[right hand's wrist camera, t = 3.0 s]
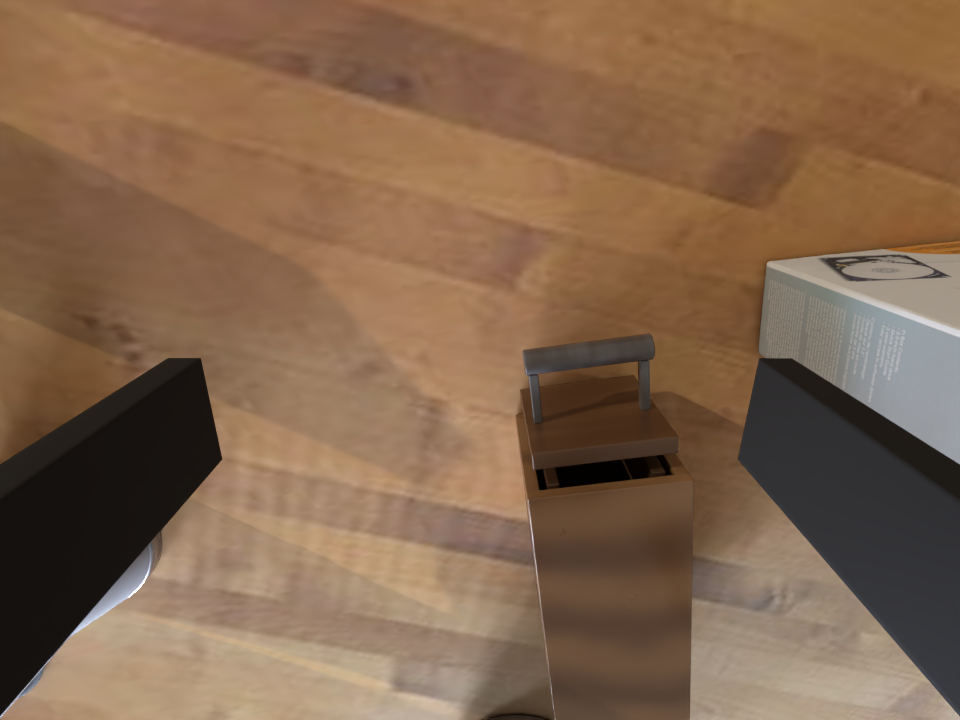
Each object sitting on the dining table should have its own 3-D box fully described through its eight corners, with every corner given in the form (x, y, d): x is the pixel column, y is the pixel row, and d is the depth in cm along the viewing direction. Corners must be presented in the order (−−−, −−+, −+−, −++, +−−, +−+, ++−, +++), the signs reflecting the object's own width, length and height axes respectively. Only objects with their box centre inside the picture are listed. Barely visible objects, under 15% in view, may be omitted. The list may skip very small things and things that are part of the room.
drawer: (512, 325, 38) (522, 375, 29) (631, 309, 38) (679, 355, 29) (543, 587, 47) (558, 686, 38) (639, 577, 47) (677, 674, 38)
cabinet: (515, 414, 42) (527, 499, 31) (638, 398, 41) (694, 480, 31) (539, 610, 49) (556, 732, 39) (644, 599, 49) (690, 720, 38)
